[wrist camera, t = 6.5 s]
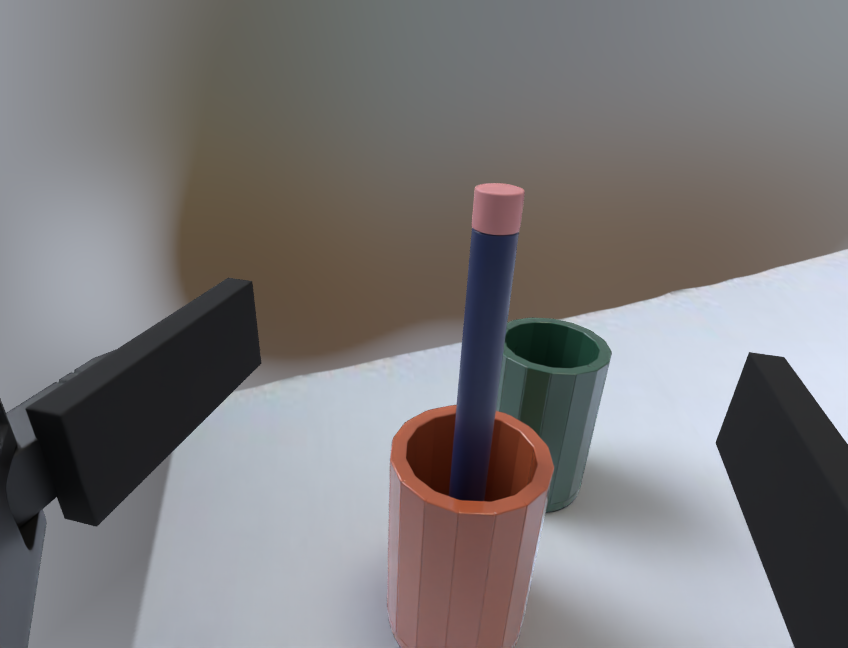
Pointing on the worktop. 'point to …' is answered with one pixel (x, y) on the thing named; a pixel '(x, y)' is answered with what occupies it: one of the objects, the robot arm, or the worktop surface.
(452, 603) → the terracotta cup
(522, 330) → the green cup
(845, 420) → the worktop surface
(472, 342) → the pencil
